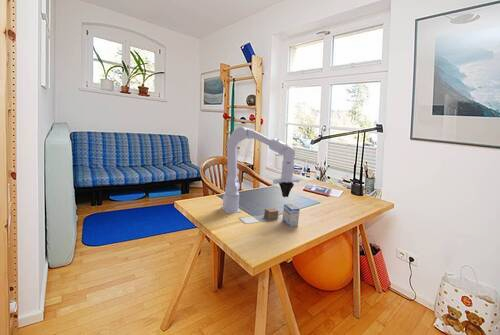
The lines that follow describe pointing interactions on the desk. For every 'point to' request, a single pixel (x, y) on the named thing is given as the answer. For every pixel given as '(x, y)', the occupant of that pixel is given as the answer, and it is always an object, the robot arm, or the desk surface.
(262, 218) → the board
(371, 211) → the desk surface
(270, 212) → the walnut block
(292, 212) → the medicine box
